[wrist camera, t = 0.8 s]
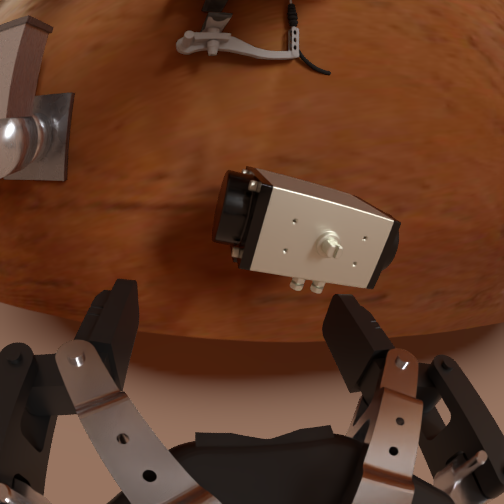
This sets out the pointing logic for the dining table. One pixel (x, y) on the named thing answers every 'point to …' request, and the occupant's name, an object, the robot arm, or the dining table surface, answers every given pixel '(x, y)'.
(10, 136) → the elbow
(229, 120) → the dining table surface
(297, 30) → the bike brake
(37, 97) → the duct stub
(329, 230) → the ball valve
